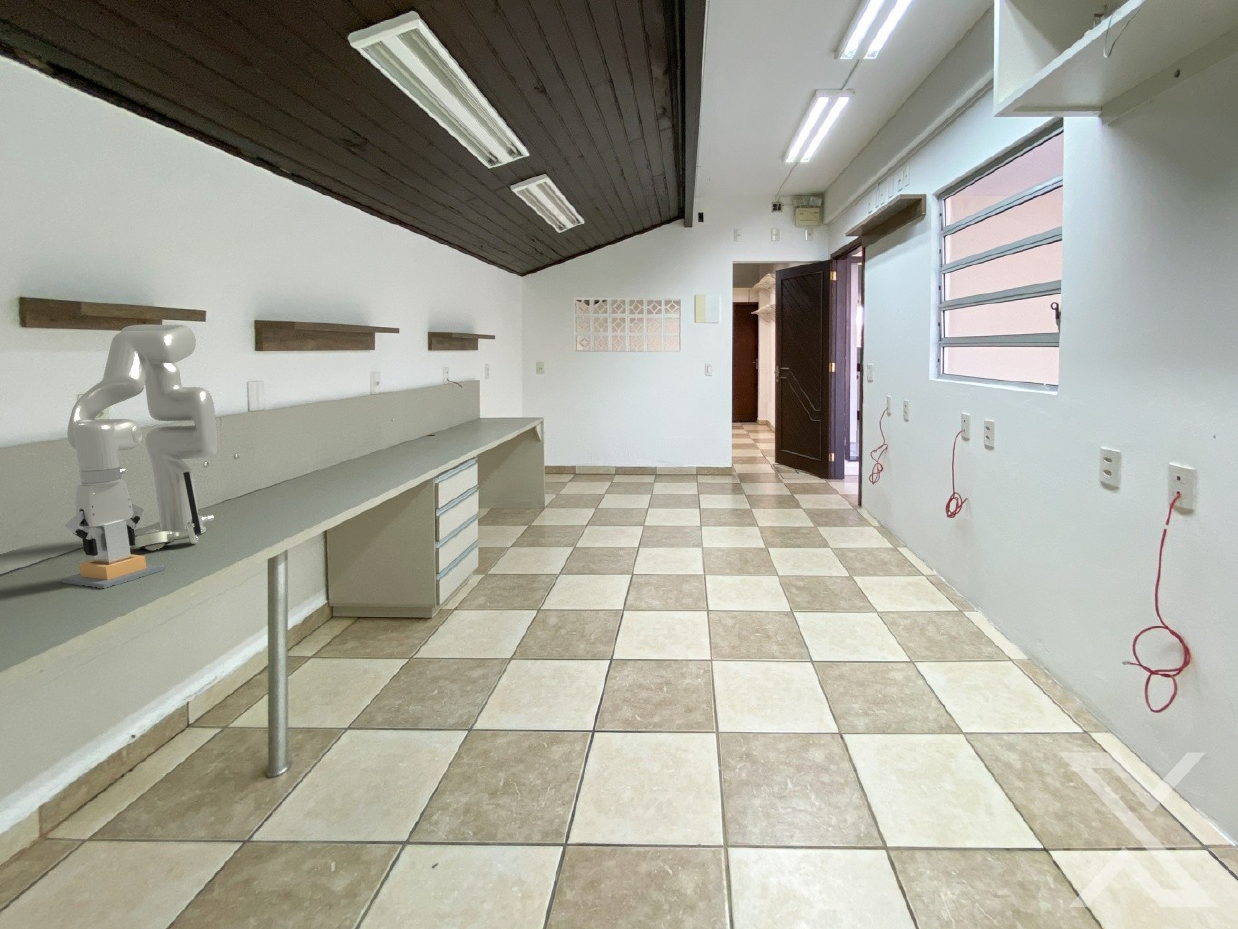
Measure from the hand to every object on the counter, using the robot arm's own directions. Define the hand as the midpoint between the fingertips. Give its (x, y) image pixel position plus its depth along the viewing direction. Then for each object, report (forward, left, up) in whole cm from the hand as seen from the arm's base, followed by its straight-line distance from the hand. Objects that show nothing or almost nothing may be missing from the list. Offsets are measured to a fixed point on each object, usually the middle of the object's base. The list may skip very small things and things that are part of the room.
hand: (111, 549), depth 159 cm
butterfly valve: (-21, -12, -7) cm, 25 cm away
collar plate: (0, 0, -6) cm, 6 cm away
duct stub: (0, 0, -5) cm, 5 cm away
